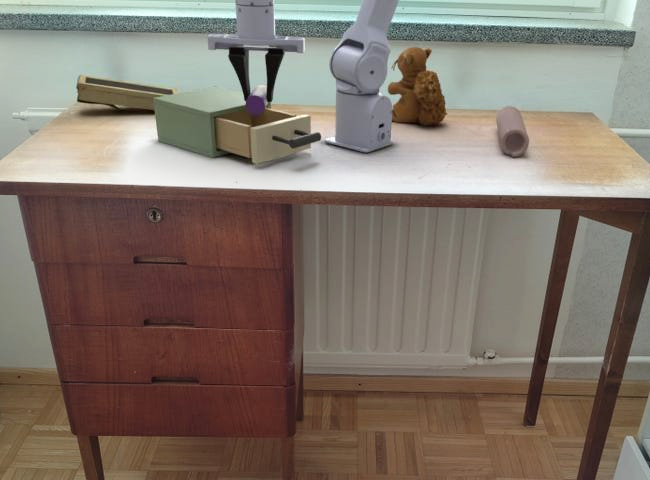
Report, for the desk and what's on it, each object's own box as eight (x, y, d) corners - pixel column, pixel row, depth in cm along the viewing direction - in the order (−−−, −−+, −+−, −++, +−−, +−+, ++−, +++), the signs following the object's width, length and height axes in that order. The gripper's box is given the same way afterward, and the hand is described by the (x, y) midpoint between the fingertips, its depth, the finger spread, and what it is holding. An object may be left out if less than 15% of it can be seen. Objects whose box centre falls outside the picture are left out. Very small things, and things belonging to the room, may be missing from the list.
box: (77, 100, 135) (77, 73, 133) (193, 115, 143) (195, 90, 141) (76, 110, 129) (76, 83, 126) (197, 126, 137) (199, 100, 134)
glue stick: (253, 104, 113) (252, 84, 111) (271, 104, 113) (270, 85, 111) (246, 115, 106) (244, 94, 105) (265, 115, 106) (264, 95, 105)
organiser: (272, 141, 120) (270, 99, 116) (213, 157, 111) (209, 112, 107) (217, 126, 127) (214, 86, 124) (158, 140, 118) (152, 97, 115)
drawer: (334, 154, 112) (334, 121, 109) (281, 171, 104) (280, 135, 101) (255, 133, 121) (254, 102, 118) (201, 147, 113) (198, 114, 110)
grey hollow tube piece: (532, 132, 114) (524, 107, 129) (504, 127, 114) (499, 103, 129) (525, 159, 116) (517, 132, 131) (497, 155, 117) (493, 128, 132)
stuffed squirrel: (416, 110, 143) (421, 41, 136) (460, 126, 133) (468, 53, 126) (376, 116, 138) (380, 44, 131) (419, 132, 128) (426, 56, 121)
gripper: (306, 3, 105) (306, 96, 112) (211, -1, 105) (218, 93, 112) (302, 8, 99) (302, 106, 106) (201, 4, 99) (209, 102, 106)
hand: (258, 100), depth 109 cm, fingers closed on glue stick, 3 cm apart
